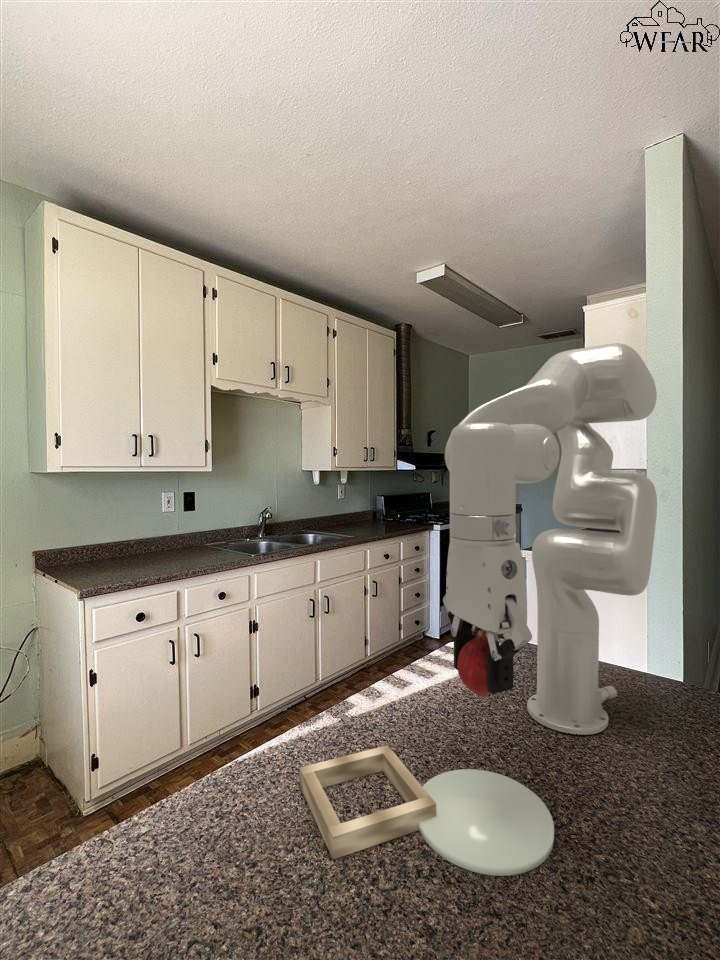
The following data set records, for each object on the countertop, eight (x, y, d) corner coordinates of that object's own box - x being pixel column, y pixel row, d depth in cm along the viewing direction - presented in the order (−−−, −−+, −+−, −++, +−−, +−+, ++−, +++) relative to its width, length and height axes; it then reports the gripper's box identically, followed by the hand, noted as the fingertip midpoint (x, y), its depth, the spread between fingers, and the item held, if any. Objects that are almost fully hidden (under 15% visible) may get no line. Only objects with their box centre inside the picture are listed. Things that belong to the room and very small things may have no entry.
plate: (493, 764, 69) (493, 757, 69) (586, 846, 54) (586, 838, 54) (392, 795, 62) (392, 787, 62) (466, 897, 48) (466, 887, 48)
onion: (509, 711, 54) (509, 641, 54) (457, 706, 56) (456, 638, 55) (504, 687, 60) (504, 623, 60) (457, 683, 61) (457, 621, 61)
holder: (387, 762, 69) (387, 745, 69) (436, 824, 57) (436, 803, 57) (299, 786, 64) (299, 767, 64) (333, 859, 52) (332, 837, 52)
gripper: (562, 536, 51) (561, 705, 51) (465, 518, 66) (466, 648, 67) (504, 541, 48) (504, 721, 48) (418, 522, 64) (418, 657, 64)
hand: (482, 677), depth 58 cm, fingers closed on onion, 5 cm apart
